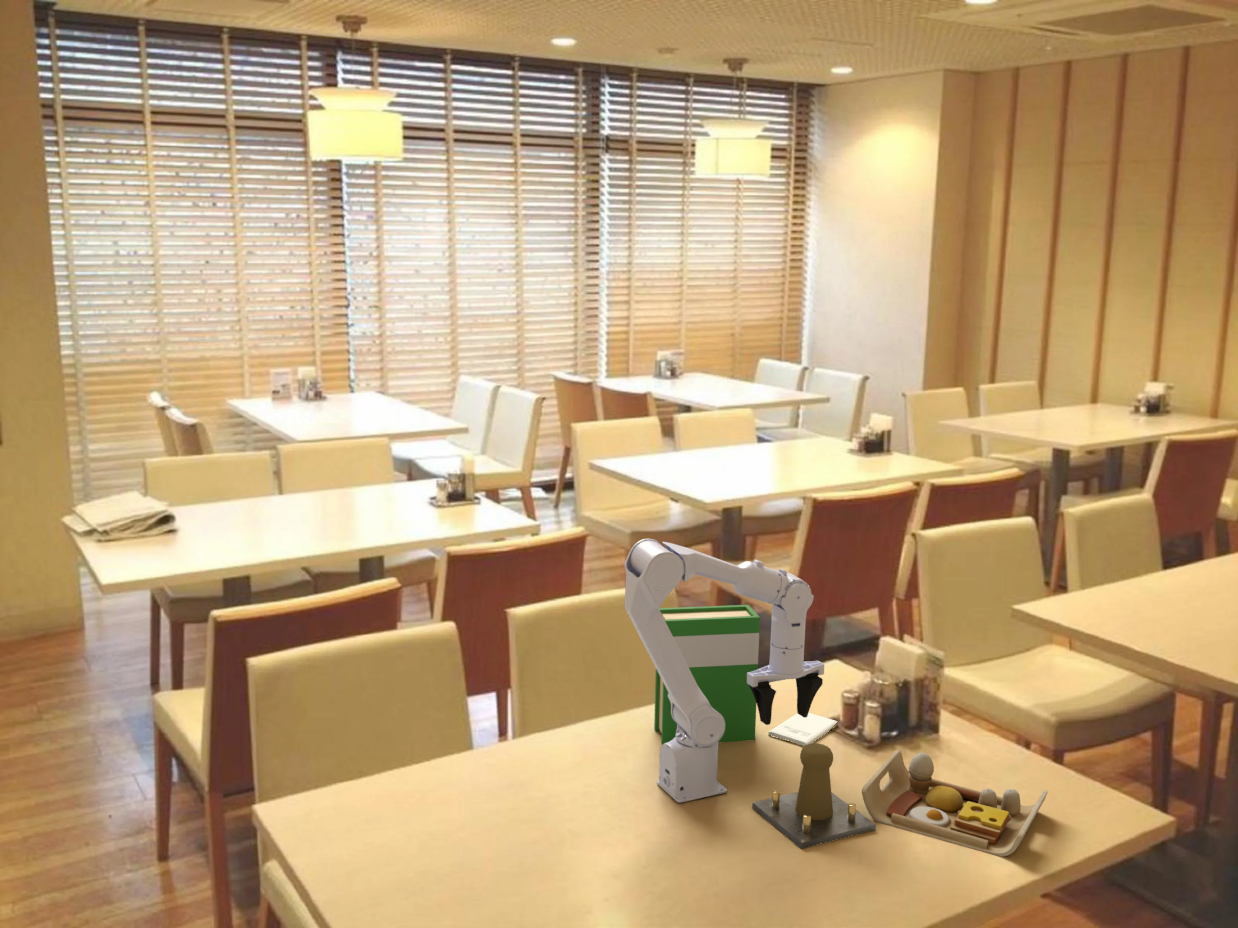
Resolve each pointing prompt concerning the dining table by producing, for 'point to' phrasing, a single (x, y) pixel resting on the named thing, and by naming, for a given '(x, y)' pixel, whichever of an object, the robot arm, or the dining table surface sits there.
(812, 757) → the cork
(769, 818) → the chassis plate
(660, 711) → the hardback book
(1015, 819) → the toy food set
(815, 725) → the external hard drive
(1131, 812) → the dining table surface
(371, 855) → the dining table surface
